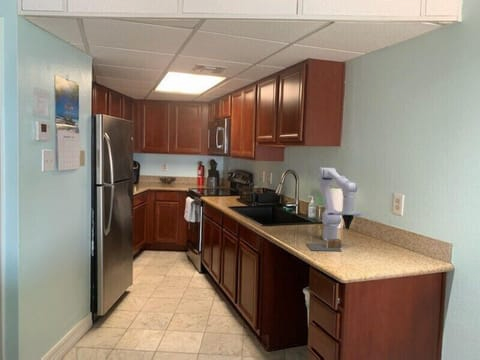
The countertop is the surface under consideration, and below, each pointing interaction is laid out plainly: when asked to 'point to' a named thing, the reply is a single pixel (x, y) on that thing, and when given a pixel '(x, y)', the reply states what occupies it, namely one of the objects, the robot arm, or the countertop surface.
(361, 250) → the countertop surface
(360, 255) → the countertop surface
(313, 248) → the rubber mat
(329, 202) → the robot arm
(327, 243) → the walnut block
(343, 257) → the countertop surface
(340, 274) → the countertop surface
